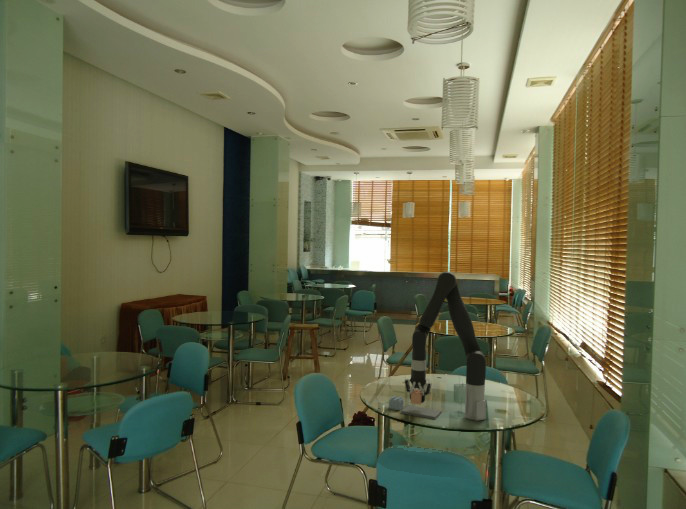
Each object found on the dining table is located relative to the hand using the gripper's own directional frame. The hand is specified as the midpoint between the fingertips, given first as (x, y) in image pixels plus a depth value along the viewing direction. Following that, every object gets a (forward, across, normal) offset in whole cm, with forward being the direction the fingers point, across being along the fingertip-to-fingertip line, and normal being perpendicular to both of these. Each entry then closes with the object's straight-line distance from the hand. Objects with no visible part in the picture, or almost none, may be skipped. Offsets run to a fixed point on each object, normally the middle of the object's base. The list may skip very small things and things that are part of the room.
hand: (417, 401), depth 265 cm
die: (+6, -9, +39) cm, 40 cm away
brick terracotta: (+1, 0, 0) cm, 1 cm away
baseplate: (+6, +2, 0) cm, 6 cm away
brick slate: (+6, -12, +1) cm, 13 cm away
